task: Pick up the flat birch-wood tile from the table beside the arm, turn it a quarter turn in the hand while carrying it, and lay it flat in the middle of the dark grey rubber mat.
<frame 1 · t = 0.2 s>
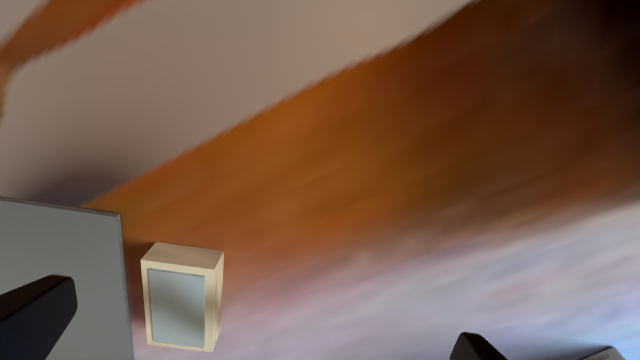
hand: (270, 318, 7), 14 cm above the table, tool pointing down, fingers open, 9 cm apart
birch tile: (192, 285, 26), on the table
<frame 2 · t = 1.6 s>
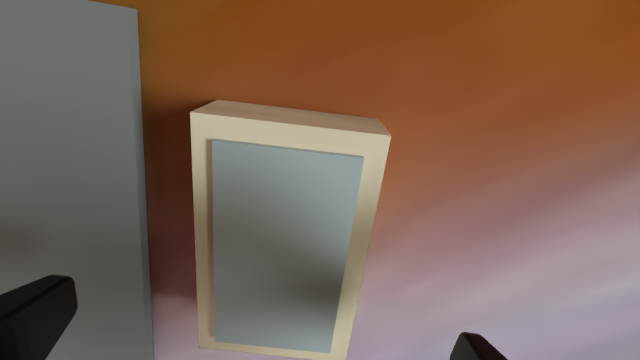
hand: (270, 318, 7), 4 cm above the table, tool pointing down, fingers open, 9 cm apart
birch tile: (289, 217, 12), on the table
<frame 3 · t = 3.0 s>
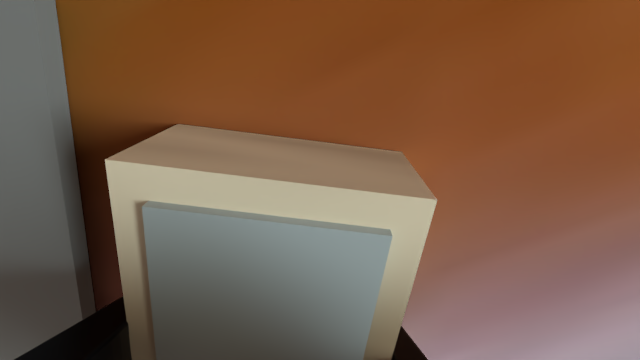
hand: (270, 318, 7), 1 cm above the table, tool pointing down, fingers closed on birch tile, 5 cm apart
birch tile: (277, 282, 9), on the table, touching gripper
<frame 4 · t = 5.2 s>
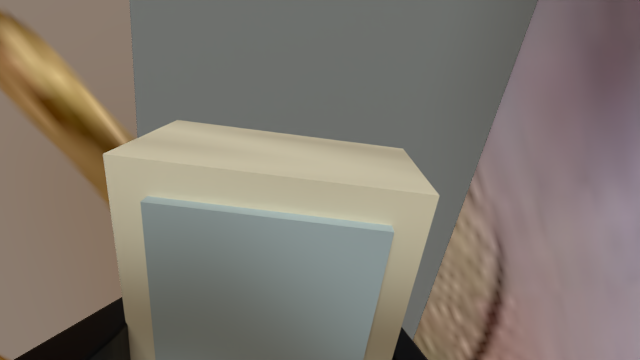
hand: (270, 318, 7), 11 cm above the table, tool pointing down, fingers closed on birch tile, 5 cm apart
birch tile: (277, 280, 9), point 10 cm above the table, touching gripper
rubber mat: (305, 165, 18), on the table
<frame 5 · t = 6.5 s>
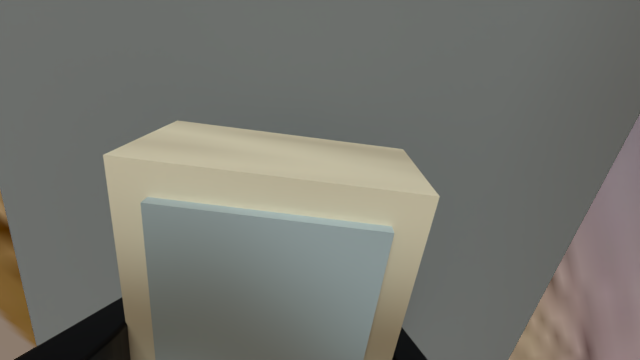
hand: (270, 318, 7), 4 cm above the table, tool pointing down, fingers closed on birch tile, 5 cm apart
birch tile: (277, 280, 9), point 3 cm above the table, touching gripper
rubber mat: (287, 235, 11), on the table
when the fingers open (3 cm above the table, at t = 7.5 s): birch tile stays where it is, resting on rubber mat.
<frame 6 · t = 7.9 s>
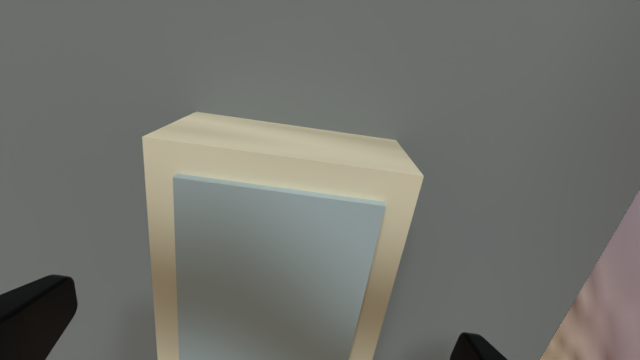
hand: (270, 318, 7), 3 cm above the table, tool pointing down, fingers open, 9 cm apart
birch tile: (282, 258, 9), resting on rubber mat
rubber mat: (284, 252, 10), on the table
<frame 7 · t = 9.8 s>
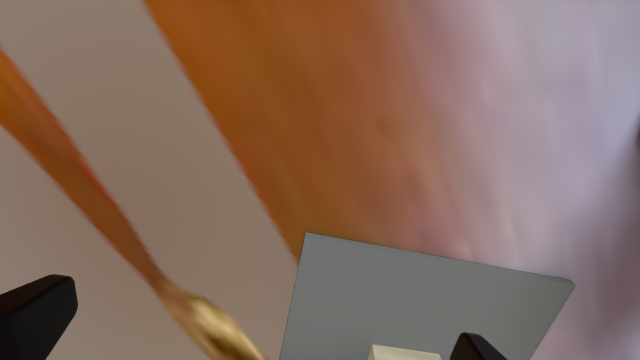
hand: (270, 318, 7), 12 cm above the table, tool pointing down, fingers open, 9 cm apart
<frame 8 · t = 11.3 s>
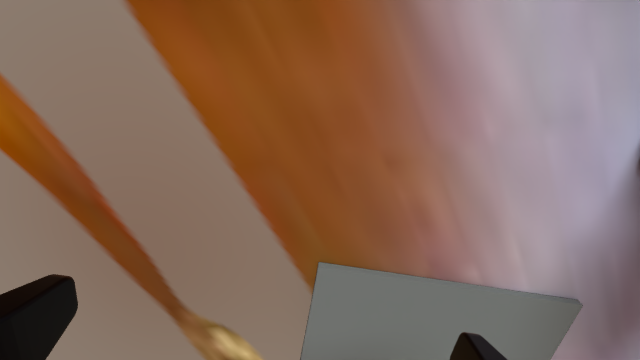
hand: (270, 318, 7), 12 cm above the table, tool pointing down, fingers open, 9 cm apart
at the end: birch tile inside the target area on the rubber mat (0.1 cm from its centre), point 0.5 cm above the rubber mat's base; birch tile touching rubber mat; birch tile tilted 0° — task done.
